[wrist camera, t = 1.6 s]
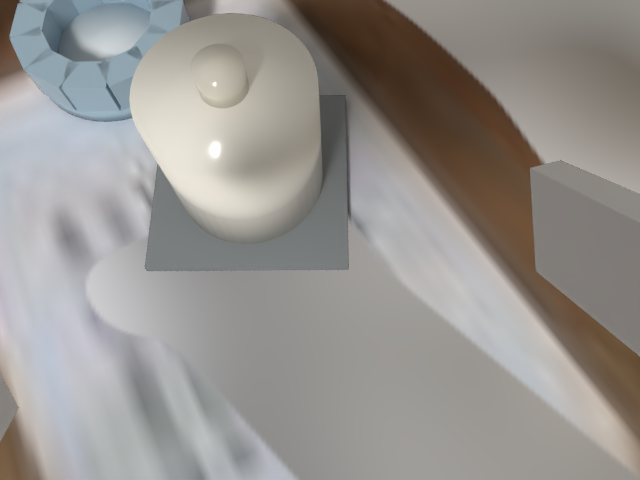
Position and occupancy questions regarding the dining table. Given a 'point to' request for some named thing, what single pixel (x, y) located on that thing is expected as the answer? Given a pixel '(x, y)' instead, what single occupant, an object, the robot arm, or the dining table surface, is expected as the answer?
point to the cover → (233, 124)
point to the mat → (277, 254)
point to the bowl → (90, 49)
